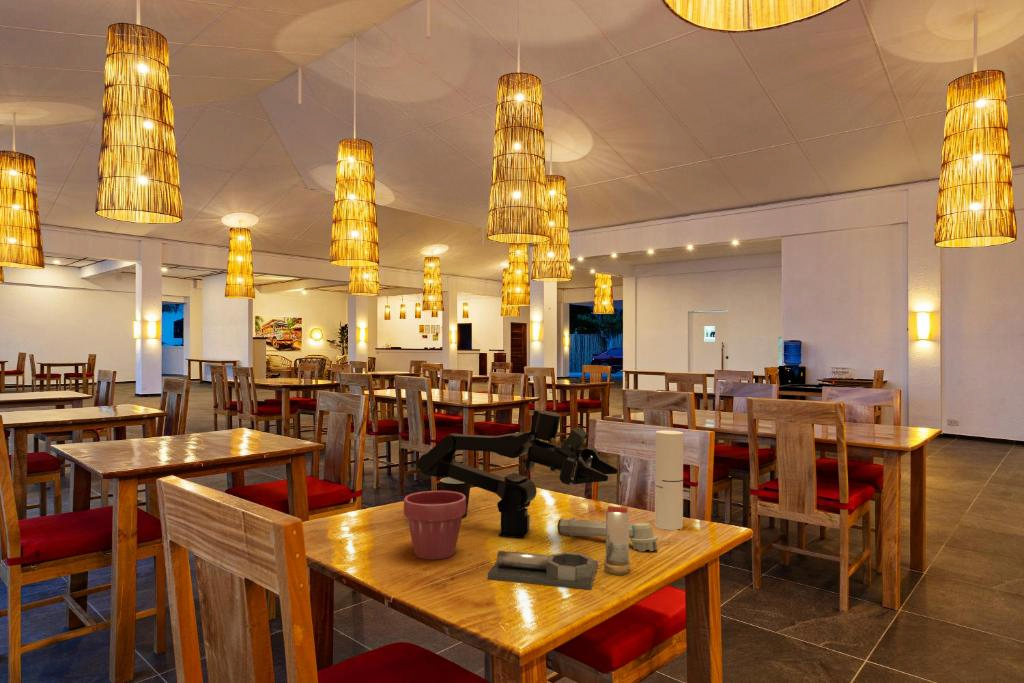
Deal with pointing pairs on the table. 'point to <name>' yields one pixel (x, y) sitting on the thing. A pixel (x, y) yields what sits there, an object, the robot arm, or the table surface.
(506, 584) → the table surface
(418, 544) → the plant pot
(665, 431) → the cylindrical container
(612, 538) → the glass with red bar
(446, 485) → the coffee mug
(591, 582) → the metal plate with ring
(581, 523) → the grey long bar
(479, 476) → the robot arm
